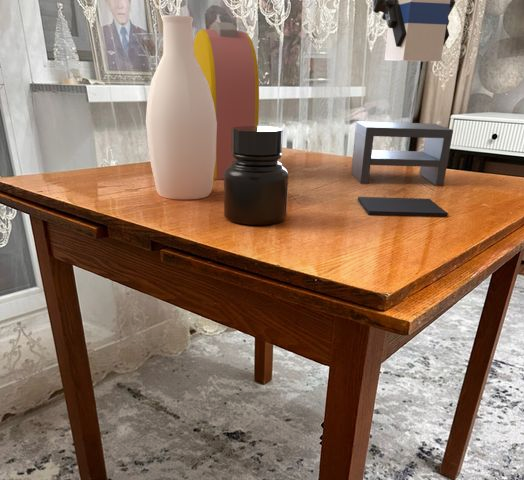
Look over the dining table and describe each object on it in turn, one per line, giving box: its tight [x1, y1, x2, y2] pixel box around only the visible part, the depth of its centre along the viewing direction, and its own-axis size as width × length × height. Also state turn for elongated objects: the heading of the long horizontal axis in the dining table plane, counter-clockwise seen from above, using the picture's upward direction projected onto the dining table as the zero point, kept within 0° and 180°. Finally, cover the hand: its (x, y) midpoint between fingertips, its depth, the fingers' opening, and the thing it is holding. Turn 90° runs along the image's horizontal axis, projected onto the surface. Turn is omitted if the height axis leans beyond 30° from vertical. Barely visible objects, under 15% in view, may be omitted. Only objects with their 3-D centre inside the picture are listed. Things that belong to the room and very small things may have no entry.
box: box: [383, 0, 450, 62], centre depth 95 cm, size 7×9×11 cm
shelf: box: [350, 120, 454, 187], centre depth 107 cm, size 16×12×10 cm
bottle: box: [145, 14, 217, 201], centre depth 85 cm, size 11×11×25 cm
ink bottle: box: [223, 125, 289, 226], centre depth 75 cm, size 10×9×12 cm
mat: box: [357, 196, 449, 218], centre depth 86 cm, size 12×10×1 cm
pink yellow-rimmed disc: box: [193, 21, 260, 180], centre depth 107 cm, size 21×9×26 cm, turn 17°
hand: (422, 40), depth 93 cm, fingers closed on box, 7 cm apart
